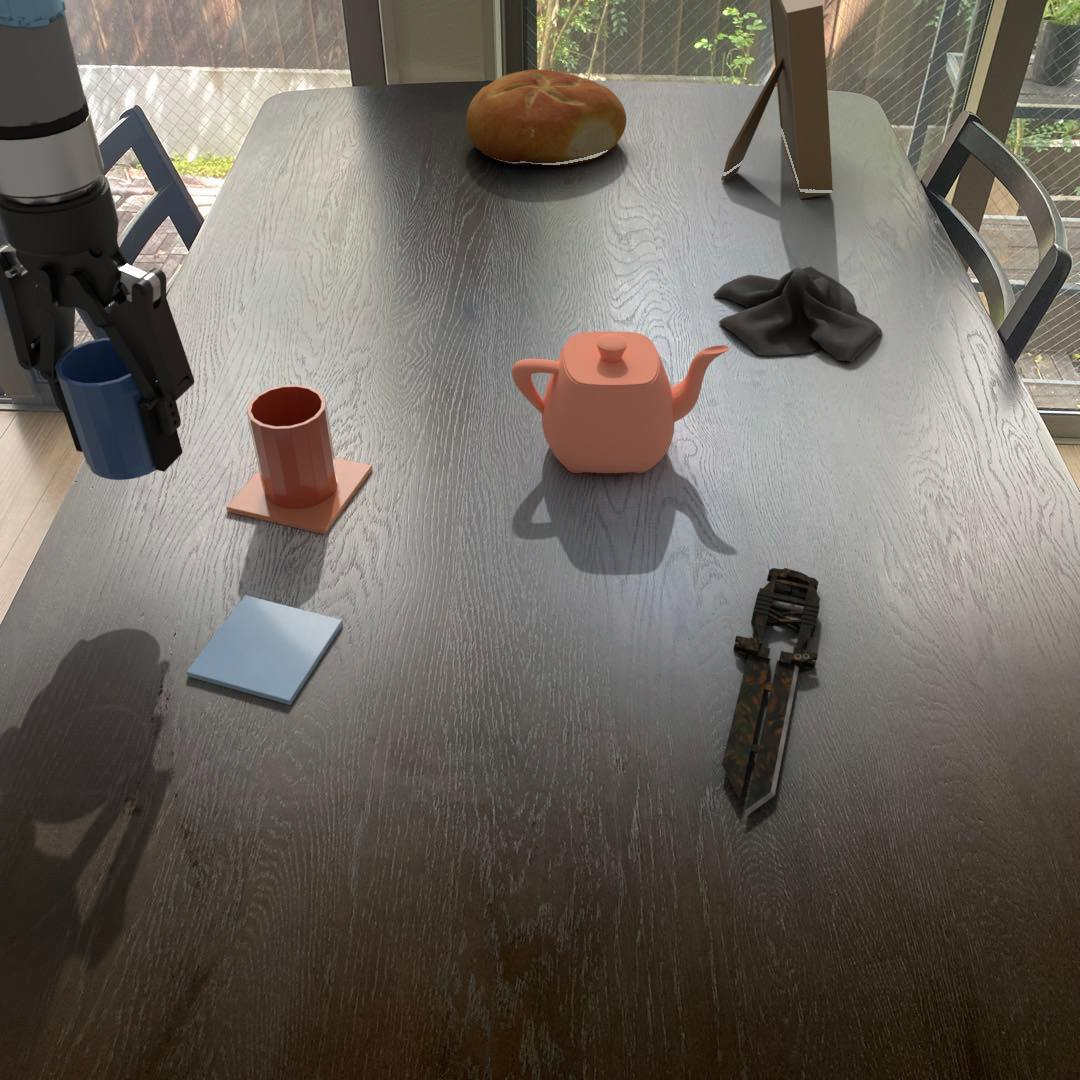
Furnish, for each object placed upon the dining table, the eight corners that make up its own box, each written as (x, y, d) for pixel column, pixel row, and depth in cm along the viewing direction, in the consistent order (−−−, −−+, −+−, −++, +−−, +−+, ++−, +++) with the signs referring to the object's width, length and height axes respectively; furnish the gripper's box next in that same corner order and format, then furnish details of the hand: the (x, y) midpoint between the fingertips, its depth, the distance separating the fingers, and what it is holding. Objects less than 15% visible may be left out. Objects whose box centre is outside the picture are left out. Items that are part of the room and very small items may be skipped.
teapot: (724, 489, 102) (740, 380, 94) (512, 490, 102) (509, 381, 94) (706, 408, 112) (720, 303, 104) (513, 408, 112) (512, 303, 104)
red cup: (250, 500, 100) (232, 420, 94) (286, 457, 104) (271, 378, 98) (316, 515, 98) (302, 435, 92) (350, 471, 103) (338, 392, 97)
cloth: (894, 367, 118) (907, 317, 114) (723, 362, 118) (730, 313, 114) (857, 269, 134) (867, 222, 130) (708, 266, 135) (713, 219, 131)
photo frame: (809, 138, 166) (839, -42, 149) (831, 199, 149) (868, 5, 133) (712, 136, 166) (731, -43, 149) (724, 197, 150) (747, 3, 133)
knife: (763, 830, 74) (766, 818, 73) (674, 798, 76) (675, 786, 75) (838, 592, 92) (841, 581, 91) (763, 572, 93) (765, 560, 92)
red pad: (227, 511, 99) (225, 506, 99) (280, 449, 106) (279, 444, 106) (325, 535, 97) (324, 530, 96) (372, 470, 104) (372, 465, 103)
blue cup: (69, 469, 87) (36, 375, 81) (119, 423, 92) (91, 331, 86) (142, 487, 86) (113, 393, 80) (189, 439, 91) (165, 346, 85)
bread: (607, 185, 153) (610, 114, 146) (448, 169, 157) (445, 99, 150) (634, 126, 169) (638, 60, 162) (490, 113, 173) (488, 47, 166)
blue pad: (187, 676, 84) (185, 671, 84) (246, 599, 91) (245, 594, 90) (290, 705, 82) (289, 700, 82) (343, 624, 89) (342, 619, 88)
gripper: (206, 181, 74) (259, 450, 89) (-33, 141, 78) (57, 403, 94) (142, 227, 68) (210, 505, 84) (-110, 181, 73) (-2, 453, 88)
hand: (129, 451), depth 89 cm, fingers closed on blue cup, 7 cm apart
